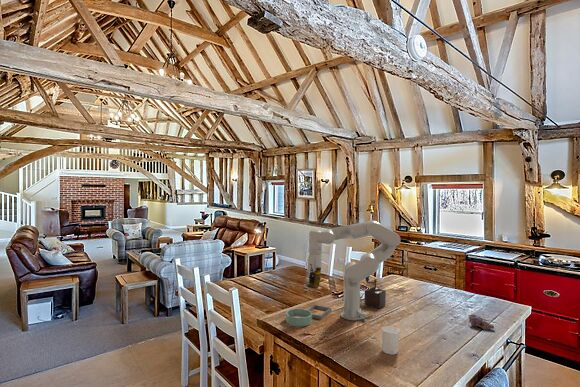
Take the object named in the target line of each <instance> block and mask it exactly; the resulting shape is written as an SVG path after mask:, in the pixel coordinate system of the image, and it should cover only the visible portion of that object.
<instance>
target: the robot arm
mask: <svg viewBox="0 0 580 387" xmlns="http://www.w3.org/2000/svg"><path fill="white" fill-rule="evenodd" d="M366 237H372V238H373V239H375V240H376V241H378V242H380V244H379V245H378V246H376V247H375V248H374V249H372V250H370V251H368V252H366V253H365V254H362V256H361V257H360V259H359V261H358V262H354V261H350V262H346V264H344V266H343V270H342V271H343V306H342V307H343V308H342V309H343V311H342V312H340V317H341V318H342V319H343V320H344V319H345V320H347V321H359V320H362V319H363V318H367V317H368V313H367V312H366V311H362V308H361V281H363V280H364V279H365V278H367V277H368V276H369V277H370V276H372V275H374V274H375V273H376V272H377V271H378V269H379V268H380V264H381V263H383V262H384V261H387V259H389V258H390V257H391V256H392V255H393V253H394V252H395V249H396V247H398V246H400V244H401V236H400V235H399V234H398V233H397V232H395V231H393V230H391V229H390V228H388V227H386V226H384V225H382V224H381V223H379V222H378V221H376V220H368V221H363V222H359V223H353V224H348V225H343V226H342V225H341V226H337V227H332V228H328V229H325V230H324V231H321V230H318V229H317V230H316V229H312V230H310V231H309V234H308V255H307V256H308V257H307V264H306V270H307V273H308V284H309V283H313V284H314V279H315V277H314V273H315V271H316V268H319V267H321V268H322V251H323V250H322V246H323V244H324V245H331V244H333V243H334V242H335V241H338V240H345V239H346V240H347V239H348V240H355V239H360V238H366ZM311 270H313V271H311ZM311 272H313V274H312V273H311ZM365 280H366V279H365Z"/></svg>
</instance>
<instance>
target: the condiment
mask: <svg viewBox="0 0 580 387" xmlns="http://www.w3.org/2000/svg"><path fill="white" fill-rule="evenodd" d="M311 271H313V270H311ZM311 273H312V274H313V272H311ZM321 276H322V266H321V267H319V268H316V271H315V273H314V277H315V279H314V284H313V283H309V282H308V283H303V285H304V287H306V288H308V289H309V290H317V289H322V287H321V286H320V281H321Z"/></svg>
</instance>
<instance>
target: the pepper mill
mask: <svg viewBox="0 0 580 387" xmlns="http://www.w3.org/2000/svg"><path fill="white" fill-rule="evenodd" d="M365 282H366V284H374V286H372V287H369V288H367V289H365V290H364V293H363V294H364V306H366V305H367V307H371V308H374V309H381V308H383V307H385V306H386V304H387V303H386V302H387V290H385V289H382V288H380V287H379V286H378V285H377V279H373V281H370V276H368V277H367V278H365Z"/></svg>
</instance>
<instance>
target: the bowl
mask: <svg viewBox="0 0 580 387" xmlns="http://www.w3.org/2000/svg"><path fill="white" fill-rule="evenodd" d="M307 309H308V308H306V309H305V308H300V307H299V308H290V309H288V310H287V311H286V312H285V322H286V324H288V325H289V326H293V327H308V326H310V325H312V323H313V318H312V314H313V313H312V311H309V310H307Z"/></svg>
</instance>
